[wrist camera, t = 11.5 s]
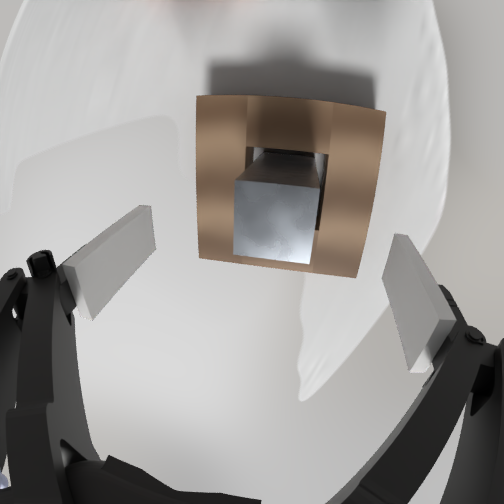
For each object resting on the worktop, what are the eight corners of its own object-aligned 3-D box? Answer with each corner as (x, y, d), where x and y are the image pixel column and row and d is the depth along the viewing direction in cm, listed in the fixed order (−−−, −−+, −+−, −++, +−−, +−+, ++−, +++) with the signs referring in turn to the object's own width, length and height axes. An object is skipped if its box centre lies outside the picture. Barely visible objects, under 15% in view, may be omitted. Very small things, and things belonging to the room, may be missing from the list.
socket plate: (211, 97, 25) (196, 95, 22) (375, 111, 23) (386, 111, 19) (210, 241, 33) (199, 258, 29) (351, 258, 30) (356, 278, 27)
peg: (263, 152, 27) (234, 180, 17) (314, 157, 26) (319, 188, 16) (261, 199, 29) (233, 254, 19) (309, 205, 29) (309, 263, 18)
